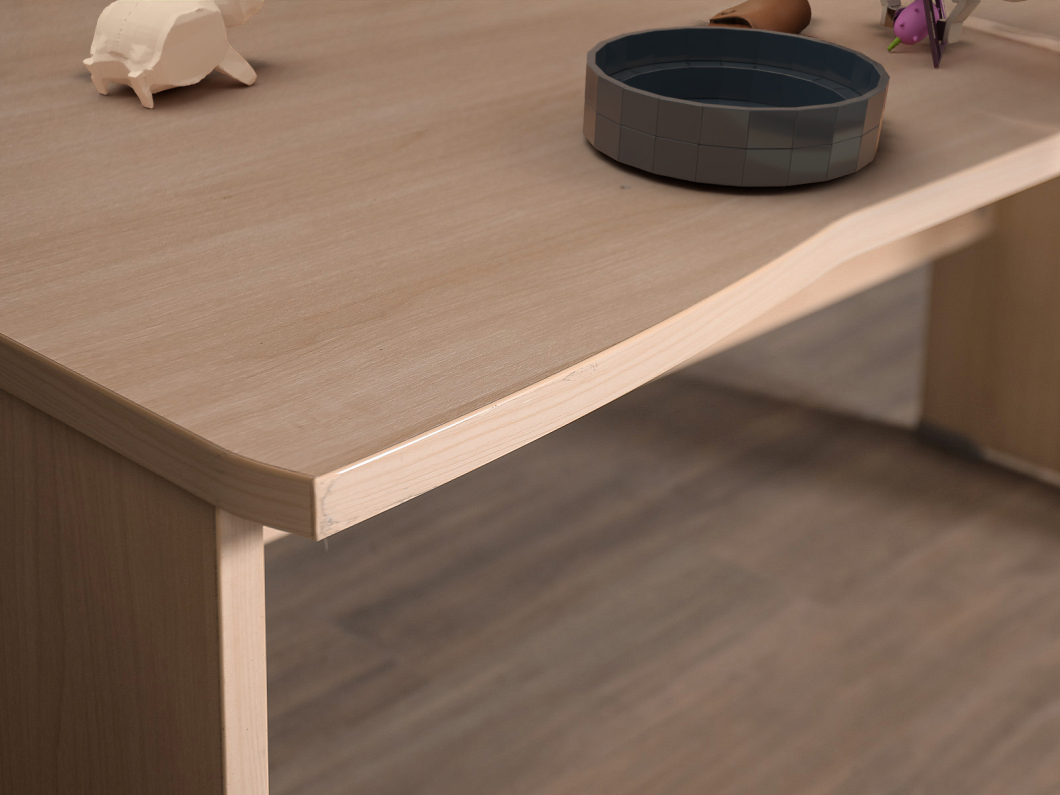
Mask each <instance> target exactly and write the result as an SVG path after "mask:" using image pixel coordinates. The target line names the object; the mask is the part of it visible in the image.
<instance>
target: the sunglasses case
mask: <svg viewBox="0 0 1060 795" xmlns="http://www.w3.org/2000/svg"><path fill="white" fill-rule="evenodd" d="M812 15H813V14H812V7H811V4H810V2H809V0H746V1H743V2H741V3H739V4H737V5H734V6H731V7H729V8H726V9H723V10H721V11H720V12H718V13H717V14H715V15H714V16H712V17H711V18H709V22H708V25H706V26H718V27H736V28H749V29H762V30H769V31H776V32H783V33H789V34H796V35H801V33H802V32H803V31H804V30H806V29H807V28H808V26H809V25H810V23H811V20H812Z"/></svg>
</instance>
